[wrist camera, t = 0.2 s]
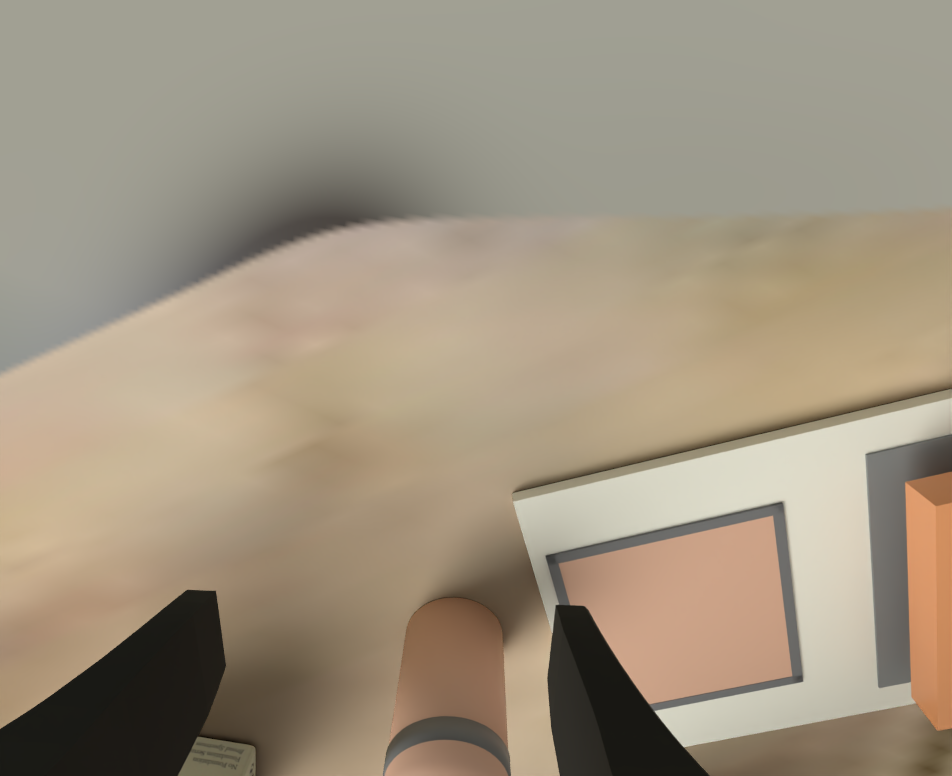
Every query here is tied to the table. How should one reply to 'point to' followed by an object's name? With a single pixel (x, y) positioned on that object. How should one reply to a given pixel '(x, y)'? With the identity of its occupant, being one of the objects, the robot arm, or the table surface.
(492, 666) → the cylinder
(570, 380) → the table surface
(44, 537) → the table surface
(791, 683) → the picture board
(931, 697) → the button
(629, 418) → the table surface
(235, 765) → the skincare box
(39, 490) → the table surface
